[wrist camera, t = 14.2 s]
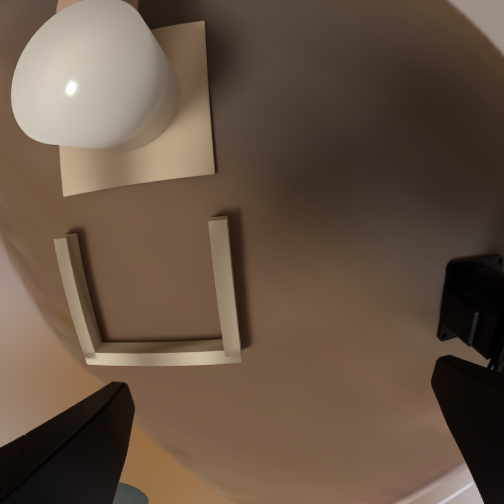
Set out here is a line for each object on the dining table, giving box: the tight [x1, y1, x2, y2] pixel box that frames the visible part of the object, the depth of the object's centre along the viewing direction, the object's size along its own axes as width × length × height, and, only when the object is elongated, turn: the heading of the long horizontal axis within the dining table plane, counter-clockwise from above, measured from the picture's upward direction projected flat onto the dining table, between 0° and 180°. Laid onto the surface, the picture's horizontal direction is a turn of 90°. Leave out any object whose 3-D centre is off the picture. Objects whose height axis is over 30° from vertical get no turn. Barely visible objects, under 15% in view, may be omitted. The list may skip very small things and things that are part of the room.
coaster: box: [59, 21, 215, 197], centre depth 16 cm, size 10×10×1 cm
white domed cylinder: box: [11, 0, 180, 153], centre depth 12 cm, size 11×7×7 cm, turn 5°
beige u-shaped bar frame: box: [54, 216, 242, 366], centre depth 18 cm, size 11×9×2 cm
